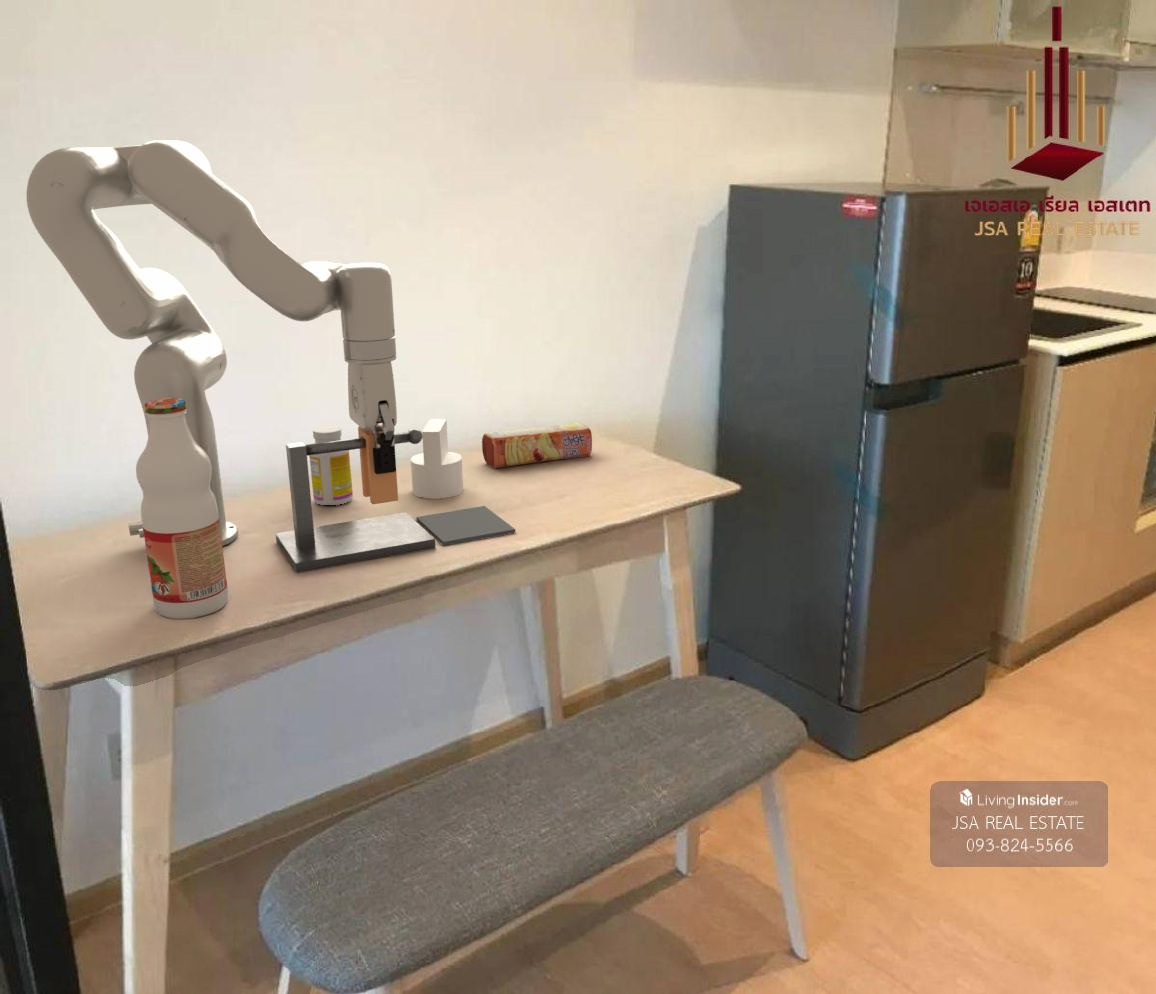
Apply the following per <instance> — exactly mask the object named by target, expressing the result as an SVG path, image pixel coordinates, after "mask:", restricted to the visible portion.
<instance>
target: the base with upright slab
mask: <svg viewBox="0 0 1156 994" xmlns="http://www.w3.org/2000/svg"><path fill="white" fill-rule="evenodd" d="M447 424H448V423H447V419H445V418H432V419H428V421H427V423H426V424H425V426H424V428H423V430H422V431H421V432H422V436H423V437H422V449H423V451H422V452H421V453H418V454H415V455H413V456H412V457H411V458H410V470H411V471H410V472H411V489H412V491H411V492H412V494H413V495H414V496H416V497H417V498H418V497H419V498H421V497H423V498H422V499H431V500H434V499H448V498H451V497H455V496H457V495H460V494H462V493H463V492H464V480H463V479H464V478H463V458H462V455H461V454H460V453H456V452H452V451H449V444H448V443H449V442H448V425H447Z"/></svg>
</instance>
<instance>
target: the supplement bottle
mask: <svg viewBox="0 0 1156 994" xmlns="http://www.w3.org/2000/svg"><path fill="white" fill-rule="evenodd" d="M312 433H313V435H312V437H313V439H314V443H313V444H316V443H324V442H332V441H340V440H342V434H343V433H342V428H341V427H340V426H337V425H336V426H335V425H328V426H327V425H325V426H319V427H316V428H314V429H313V430H312ZM350 458H351V457H350V450H346V451H339V452H331V453H324V454H316V455H309V466H310V475H311V485H312V486H311V487H312V496H313V500H314V502H315V503H316V504H317V505H319V504H320V506H323V505H336V506H341V505H340V504H342V505H345V504H348V503H349V502H351V501H352V500H353V497H354V494H353V493H354V491H353V482H352V470H351V459H350ZM347 502H348V503H347ZM344 503H345V504H344Z"/></svg>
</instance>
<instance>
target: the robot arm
mask: <svg viewBox="0 0 1156 994" xmlns="http://www.w3.org/2000/svg"><path fill="white" fill-rule="evenodd" d="M151 204H152V205H153V206H154V207H156V209H158V210H160V211H161V212H162V213H164V215H166V216H168V217H169V218H170V219H172V220H173V221H174V222H175V223H177V224H178V225H180V226H181V227H183V229H185V230H187V232H189V233H190V234H192V235H193V236H194V237H195V238H196V239H198V240H199V241H201V242H202V243H203V244H205V245H206V246H207V247H209V248H210V250H212V251H213V252H214V253H215V255H216V256H217V258H218V259H219V260H220V262H221V263H222V264H223V265H224V266H225V267H226V268H227V270H228V271H229V272H230V273H231V274H232V276H233V277H234V278H235V279H236V280H237V281H238V282H239V283H240V284H241V285H242V286H244V288H245V289H247V290H248V291H249V292H250V293H252V294H253V295H254V296H256V297H257V298H258V299H260V300H261V301H263V302H264V303H266V305H268V306H269V307H271V308H272V309H273V310H275V311H277V312H278V313H279V314H281V315H282V316H283V317H286V318H288V319H291V320H293V321H297V322H310V321H313V320H316V319H318V318H319V317H322V315H324V314H328V313H331V312H333V311H340V320H341V333H342V343H343V345H342V346H343V356H344V357H343V358H344V362H346V363H347V391H348V392H347V393H348V395H347V396H348V397H347V398H348V413H349V418H350V420H351V421H353V423H355V424H356V425H357V426H358V427H361V428H363V429H364V430H366V431H369V430H370V428H372V434H373V439H374V444H375V448H373V460H374V472H375V473H376V474H384V473H391V472H395V471H396V472H397V461H396V459H395V458H396V447H395V445H396V444H395V442H394V432H395V427H396V425H397V423H398V421H397V419H398V416H397V413H398V411H397V399H396V389H395V387H396V386H395V379H394V373H393V372H394V371H393V366H392V362H393V361H395V360H397V345H396V331H395V316H394V302H393V301H394V300H393V299H394V297H393V286H392V285H393V283H392V275H391V274H392V273H391V271H390V269H389V267H388V266H387V265H385V264H384V263H383V264H382V263H377V262H359V263H358V262H357V263H356V262H355V263H349V264H347V263H345V264H344V263H343V264H342V263H335V262H330V261H324V260H323V261H322V260H321V261H320V260H315V261H314V260H313V261H308V262H305V263H302V264H301V263H300V262H299V261H297V260H296V259H294V258H293V257H292V256H290V255H289V254H288V253H286V252H285V251H284V250H283V249H282V248H280V247H279V246H278V245H277V244H276V243H275V242H273V240H271V238H269V237H268V236H267V234H266V233H265V232H264V231H263V229H262V228H261V227H260V224H259V223H258V220H257V217H256V214H255V213H256V212H255V210H254V208H253V207H252V205H251V203H250V202H249V201H248V200H246V199H245V198H244V197H243V196H241V195H240V194H239V193H237V192H236V191H234V189H232V188H231V187H229V185H226V183H224V181H222V180H220V178H218V177H216V175H214V174H213V173H212V169H211V165H210V163H209V160H208V159H207V157H206V156H205V155H204V153H203V152H202V151H201V150H200V149H198V148H197V147H196V146H194V145H193V144H191V143H189V142H187V141H181V140H165V139H164V140H162V139H161V140H160V139H159V140H152V141H151V140H150V141H147V142H145V143H143V144H139V145H124V146H107V147H106V146H104V147H101V146H100V147H98V146H96V147H92V146H91V147H86V146H85V147H84V146H79V147H78V146H77V147H76V146H75V147H72V146H70V147H65V148H64V147H62V148H59V149H55V150H53V151H51V152H48V153H47V154H45V155H44V156H42V157H41V158H40V160H38V162H36V164H35V165H34V167H33V169H32V170H31V172H30V175H29V178H28V181H27V187H26V205H27V210H28V213H29V217H30V220H31V221H32V224H33V226H34V227H35V230H36V231H37V232H38V234H39V237H40V238H41V239H42V240H43V242H44V243H45V244H46V245H47V246H48V248H49V249H50V251H51V252H52V253H53V255H54V256H55V257H56V259H57V260H58V261H59V263H60V264H61V265H62V267H63V268H64V269H65V270H66V273H67V274H68V275H69V276H70V278H71V280H72V281H73V283H74V285H75V286H76V287H77V288H78V290H79V292H80V293H81V294H82V295H83V298H85V300H86V301H87V303H88V304H89V306H90V307H91V308H92V310H93V311H94V312H95V314H96V315H97V317H98V318H99V319H100V321H101V323H102V324H103V325H104V326H105V327H106V329H107V330H108V331H109V332H110V333H112V335H114V336H115V337H118V338H120V339H123V340H137V339H141V338H145V337H147V339H148V340H149V341H150V343H151V344H150V345H148V346H147V347H146V348H144V349H143V350H142V352H141V353H140V355H139V356H138V358H137V359H136V362H135V366H134V371H133V372H134V373H133V376H134V377H133V378H134V385H135V388H136V392H137V395H138V398H139V399H138V400H139V402H140V405H141V408H142V412H143V415H144V419H145V425H146V431H147V437H148V436H149V429H150V422H149V418H148V417H147V416H146V412H145V403H146V402H148V401H151V400H155V399H162V398H180V399H184V400H185V402H186V406H187V413H186V414H185V420H186V423H187V426H188V429H189V431H190V433H191V435H192V437H193V439H194V440H195V442H196V443H197V444H198V445H199V446H200V447H201V448H202V449H203V450H204V451H205V452H206V453H207V455H208V457H209V459H210V462H211V467H212V473H211V480H210V489H211V491H212V492H213V494H214V496H215V499H216V503H217V508H218V513H219V523H220V531H221V539H222V547H224V546H226V545H228V544H230V543H232V542H233V541H235V539H237V537H238V535H239V532H238V527H237V525H235V524H233V522H229V521H227V519H226V510H225V504H224V503H225V502H224V495H223V486H222V478H221V472H220V462H219V454H218V444H217V439H216V429H215V425H214V420H213V416H212V415H213V414H212V411H211V408H210V406H209V403H208V400H207V396H206V390H207V389H209V388H211V387H213V386H214V385H215V384H217V383H218V382H219V381H220V380H221V379H222V377H223V376H224V374H225V373H226V370H227V369H226V368H227V365H228V361H227V353H226V350H225V347H224V345H223V343H222V341H221V339H220V337H218V335H217V333H216V332H215V330H214V329H213V327H212V326H211V325H210V323H209V321H208V320H207V318H206V317H205V316H204V314H203V313H202V311H201V310H200V308H199V306H198V305H197V304H196V302H195V301H194V300H193V298H192V297H191V295H190V294H189V293H188V291H187V290H186V288H185V287H184V286H183V285H182V284H181V282H180V281H178V279H176V277H174V276H173V275H171V274H170V273H168V272H166V271H164V270H162V269H159V268H155V267H141V268H140V267H139V266H138V265H137V264H136V263H135V262H134V260H133V259H132V257H131V256H130V255H129V253H128V252H127V250H126V249H125V248H124V246H123V244H122V242H121V241H120V240H119V239H118V237H117V236H116V235H115V234H114V233H113V231H111V229H109V227H107V226H106V225H105V224H104V223H103V222H102V221H101V220H100V219H99V218H98V216H97V214H96V212H95V210H99V209H106V208H116V207H124V206H126V207H127V206H137V205H138V206H139V205H151ZM380 424H383V426H379V427H376V425H380ZM381 431H383V433H381V434H380V437H379V436H378V432H381ZM127 525H128V532H129V536H130V537H132V536H137V535H138V536H139V538H140V539H142V538H143V539H144V532H143V526H142V521H136V522H131V523H130V522H129V523H128V524H127Z"/></svg>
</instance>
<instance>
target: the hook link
mask: <svg viewBox="0 0 1156 994" xmlns="http://www.w3.org/2000/svg"><path fill="white" fill-rule="evenodd" d="M379 426H383V424H382V423H380V424H378V425H376V427H379ZM357 432H358V438H364V439H365V440H366V448H362V449H359V457H360V460H359V461H360V471H361V474H360V475H361V484H362V495H363V497H365V498H369V500H370V501H369V503H370V504H371V505H379V504H384V503H390V502H391V503H392V502H396V501H398V502H399V493H398V491H399V490H398V489H399V488H398V477H397V470H396V471H395V472H391V473H384V474H376V473H375V472H374V460H373V448H375V444H374V439H373V434H372V428H370V430H369V431H366V430H364V429H363V428H361V427H359V426H358V427H357ZM381 433H383V431H381V432H378V436H379V437H380V434H381ZM396 458H397V457H395V459H396Z"/></svg>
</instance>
